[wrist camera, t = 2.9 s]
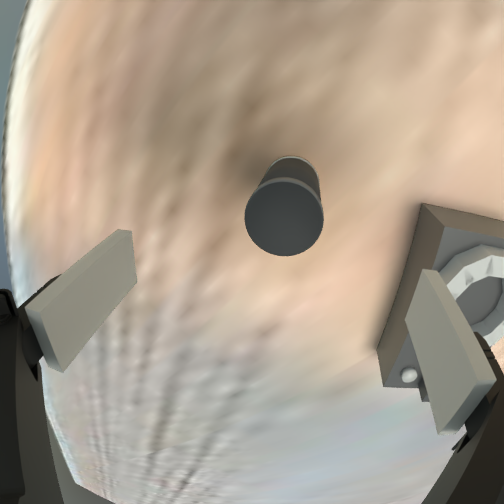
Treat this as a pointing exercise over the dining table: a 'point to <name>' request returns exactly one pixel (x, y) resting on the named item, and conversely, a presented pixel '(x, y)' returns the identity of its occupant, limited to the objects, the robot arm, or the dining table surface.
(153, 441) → the dining table surface
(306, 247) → the lens
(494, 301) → the camera body
